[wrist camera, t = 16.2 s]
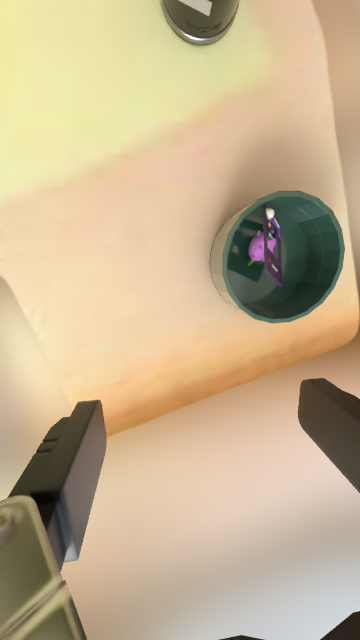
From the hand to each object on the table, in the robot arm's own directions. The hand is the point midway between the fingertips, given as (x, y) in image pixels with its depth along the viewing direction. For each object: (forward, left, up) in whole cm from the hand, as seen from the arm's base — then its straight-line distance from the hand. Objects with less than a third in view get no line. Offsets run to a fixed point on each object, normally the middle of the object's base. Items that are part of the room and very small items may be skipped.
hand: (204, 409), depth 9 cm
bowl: (-5, +15, -28) cm, 32 cm away
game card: (-5, +15, -27) cm, 31 cm away
